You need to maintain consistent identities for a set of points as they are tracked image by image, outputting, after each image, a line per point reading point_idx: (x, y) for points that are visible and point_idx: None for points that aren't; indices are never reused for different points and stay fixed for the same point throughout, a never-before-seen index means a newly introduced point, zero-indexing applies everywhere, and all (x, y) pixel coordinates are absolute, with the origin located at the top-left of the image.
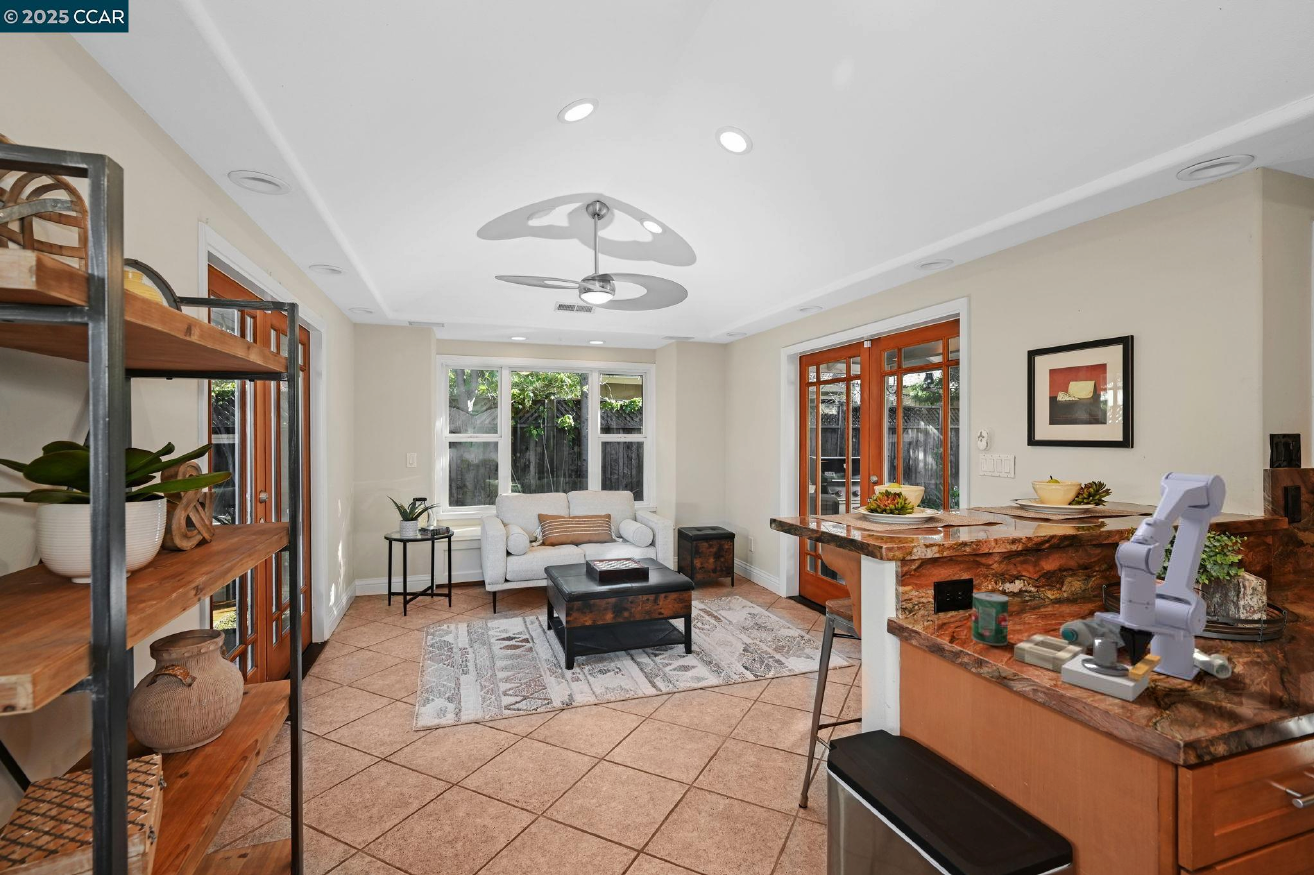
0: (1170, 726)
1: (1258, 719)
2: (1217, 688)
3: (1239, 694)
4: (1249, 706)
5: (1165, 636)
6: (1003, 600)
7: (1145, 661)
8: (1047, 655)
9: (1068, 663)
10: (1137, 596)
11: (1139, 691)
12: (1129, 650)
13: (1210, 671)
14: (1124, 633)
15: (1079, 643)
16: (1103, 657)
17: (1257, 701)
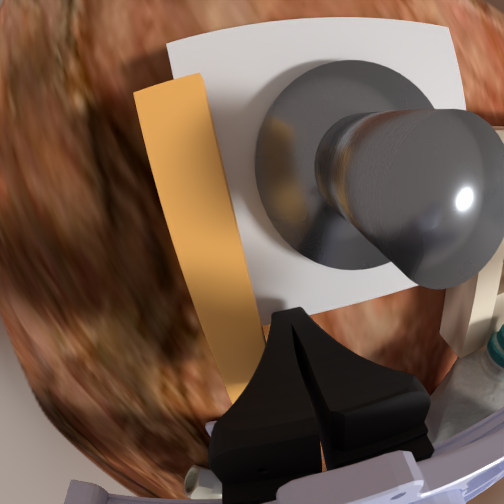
0: (40, 12)
1: (5, 308)
2: (153, 422)
3: (117, 421)
4: (60, 373)
5: (152, 501)
6: None
7: (244, 341)
8: None
9: (458, 91)
10: None
11: None
12: (323, 342)
13: (207, 471)
14: (391, 398)
15: (473, 354)
16: (381, 112)
17: (82, 410)
